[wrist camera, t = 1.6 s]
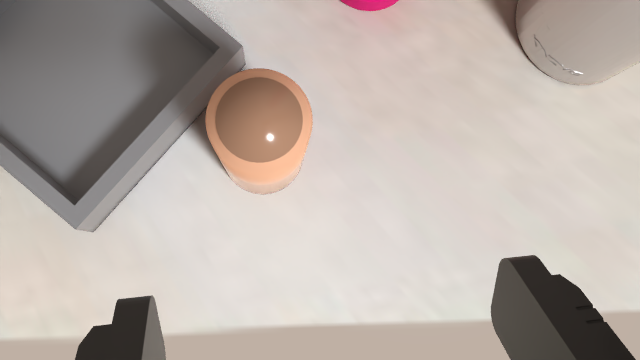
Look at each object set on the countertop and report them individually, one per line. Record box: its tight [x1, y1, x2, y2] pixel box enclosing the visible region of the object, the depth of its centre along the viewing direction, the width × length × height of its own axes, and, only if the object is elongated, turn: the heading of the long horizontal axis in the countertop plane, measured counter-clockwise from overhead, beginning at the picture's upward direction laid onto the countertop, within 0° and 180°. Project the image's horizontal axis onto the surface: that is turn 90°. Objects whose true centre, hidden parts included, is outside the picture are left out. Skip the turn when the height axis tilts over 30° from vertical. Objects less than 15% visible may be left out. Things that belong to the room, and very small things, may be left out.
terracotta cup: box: [206, 69, 313, 194], centre depth 35 cm, size 5×5×10 cm
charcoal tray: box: [0, 0, 245, 232], centre depth 38 cm, size 15×15×4 cm
